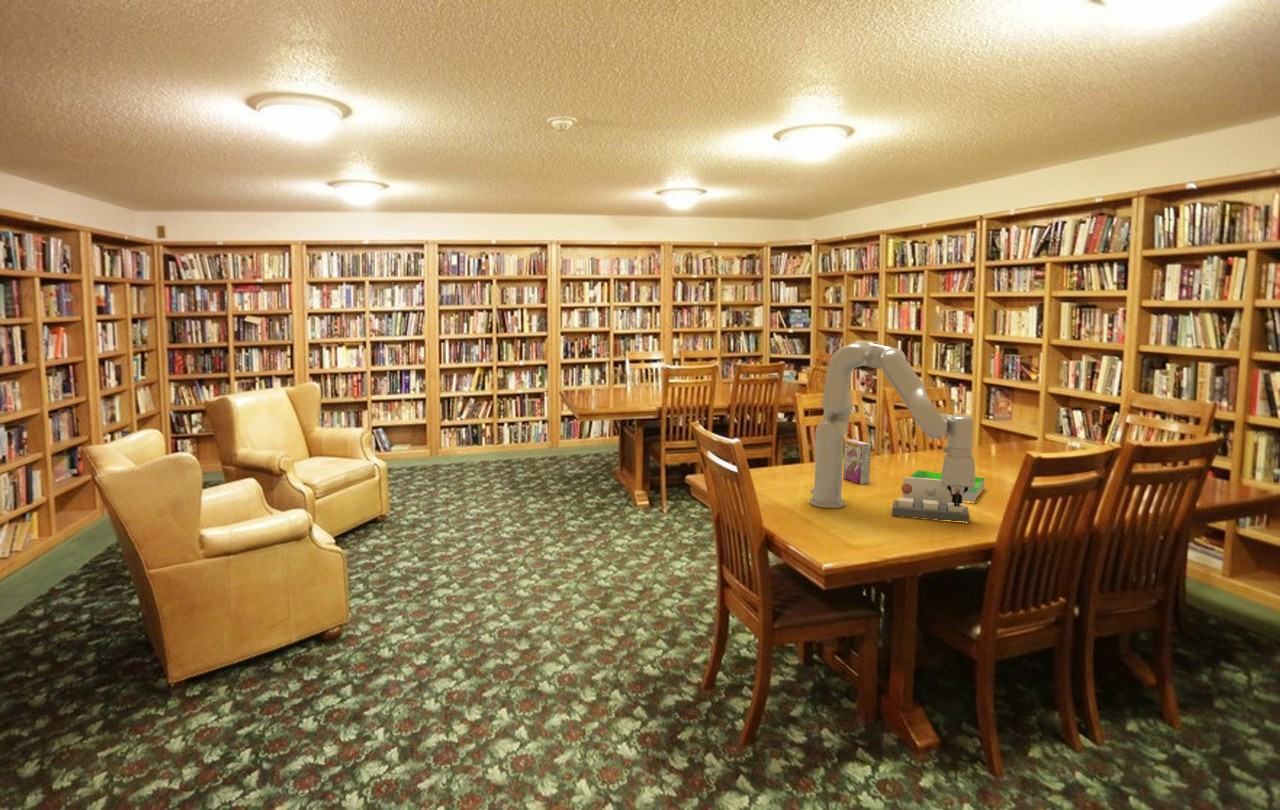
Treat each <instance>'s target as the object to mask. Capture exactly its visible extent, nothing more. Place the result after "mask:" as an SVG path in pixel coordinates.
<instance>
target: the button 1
mask: <svg viewBox="0 0 1280 810" xmlns="http://www.w3.org/2000/svg"><path fill="white" fill-rule="evenodd" d="M897 501H898V506H899V507H909V508H913V499H912V498H903V497H899V496H898V499H897Z"/></svg>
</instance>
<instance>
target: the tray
mask: <svg viewBox="0 0 1280 810" xmlns="http://www.w3.org/2000/svg"><path fill="white" fill-rule="evenodd" d="M910 477H913V478H925V479H937V480H942V472H937V471H936V472H935V471H930V470H929V471H927V470H919V469H918V470H916V471H915V472H914V473H913V474H912V475H910ZM985 479H986V478H985V477H979V476H975V484H974V485H975V489H974V490H968V491H966V492H965V493H964V494H963V495H962V501H970V502H974V501H975V500H976V498H977V497H978V495H979V494H980V493H981V491H982V490H983V488H984V489H985ZM902 485H904V482H903V483H902ZM959 489H960V487H959ZM983 491H984V490H983ZM903 494H904V493H903V492H902V495H903ZM981 494H982V493H981ZM978 498H979V497H978ZM976 501H977V500H976Z"/></svg>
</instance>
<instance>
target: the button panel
mask: <svg viewBox="0 0 1280 810" xmlns="http://www.w3.org/2000/svg"><path fill="white" fill-rule="evenodd" d="M941 482H942V480H937V479H925V478H913V477H911V476H904V478H903V483H904V485H903V484H902V485H901V487H900V488H901V491H902V495H903V496H902V498H912V499H913V508H909V507H899V506H898V499H897V500H896V499H894V500H893V504H892V508H891V509H892V515H891V517H896V516H904V517H903V518H906V517H915V518H914V519H916V517H917V518H927V519H937V520H951V521H964V522H966V521H967V522H969V523H970V513H969V507H968V506H964V513H961V512H950V511H948V503H952V493H951V492H950V491H949V490H948V489H947V488H943V487H941ZM959 490H960V489H959V487H958V486H955V491H956V492H957V493H958V492H959ZM903 493H904V494H903ZM923 500H933V501H938V510H930V509H923Z"/></svg>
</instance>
